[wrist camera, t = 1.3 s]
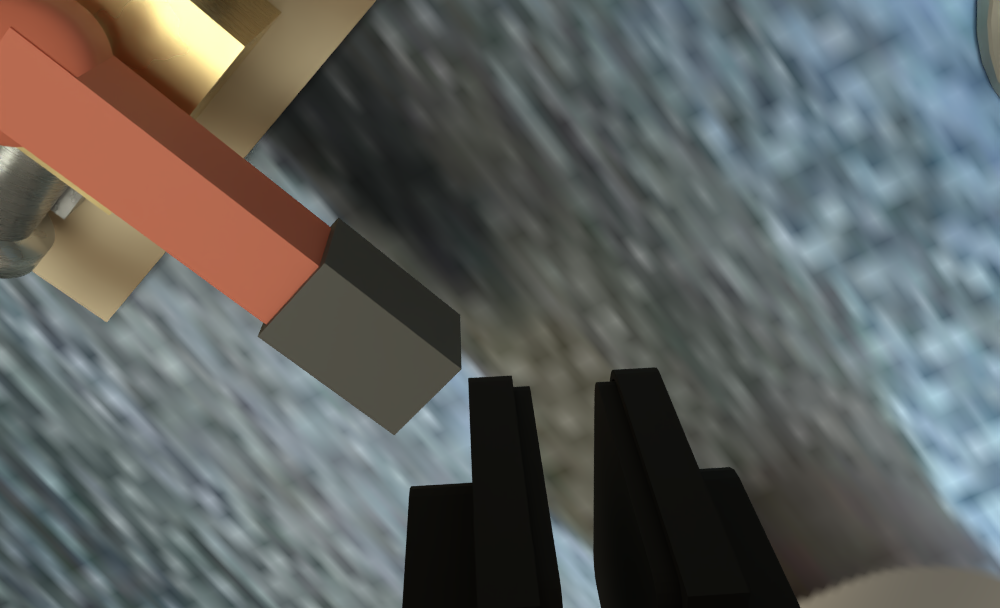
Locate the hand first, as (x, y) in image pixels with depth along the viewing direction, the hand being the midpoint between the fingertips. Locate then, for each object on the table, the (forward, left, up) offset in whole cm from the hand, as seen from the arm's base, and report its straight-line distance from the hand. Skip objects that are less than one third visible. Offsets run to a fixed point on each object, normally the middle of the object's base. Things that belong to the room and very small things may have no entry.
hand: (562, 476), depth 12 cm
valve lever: (+7, -4, -19) cm, 20 cm away
